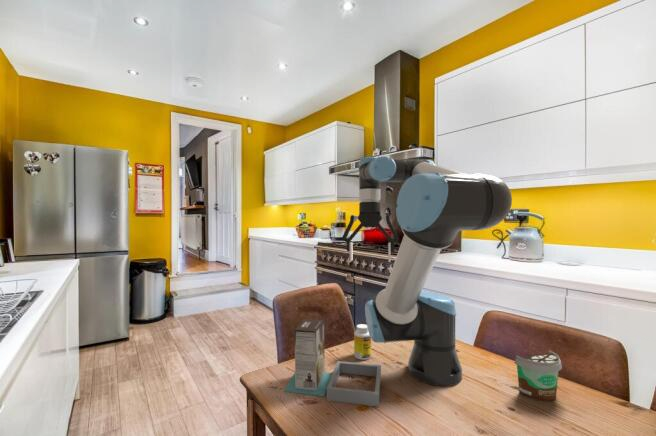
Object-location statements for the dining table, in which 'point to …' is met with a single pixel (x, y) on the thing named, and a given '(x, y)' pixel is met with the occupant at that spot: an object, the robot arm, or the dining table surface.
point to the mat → (319, 392)
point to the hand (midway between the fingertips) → (370, 261)
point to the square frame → (352, 394)
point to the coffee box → (309, 354)
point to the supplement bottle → (362, 342)
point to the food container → (538, 376)
